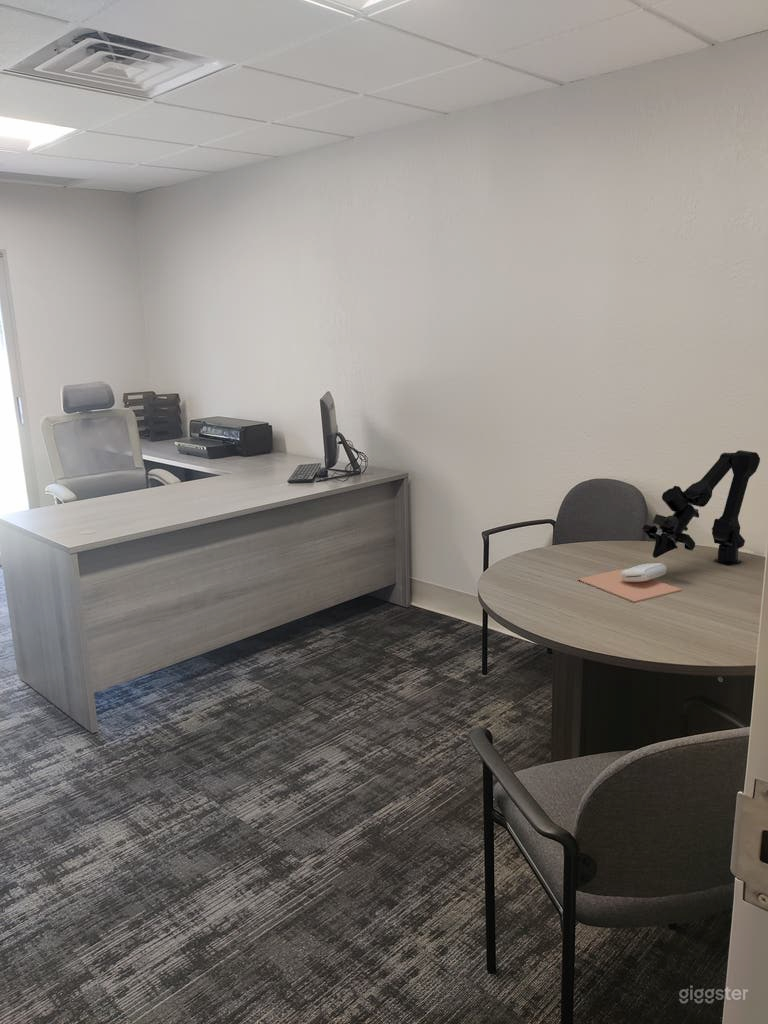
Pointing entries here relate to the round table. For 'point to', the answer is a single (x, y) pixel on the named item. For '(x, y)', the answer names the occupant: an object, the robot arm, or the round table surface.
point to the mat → (629, 586)
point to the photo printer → (643, 572)
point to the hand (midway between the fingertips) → (654, 557)
